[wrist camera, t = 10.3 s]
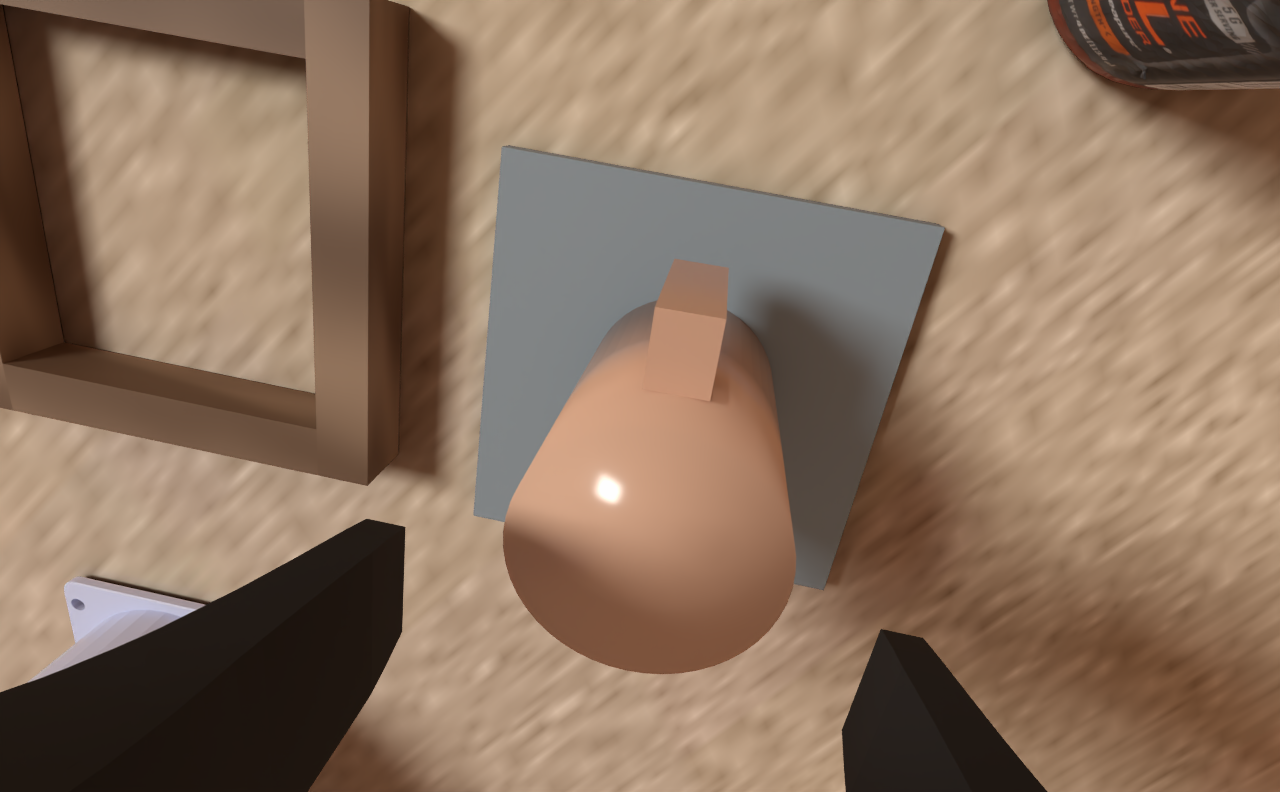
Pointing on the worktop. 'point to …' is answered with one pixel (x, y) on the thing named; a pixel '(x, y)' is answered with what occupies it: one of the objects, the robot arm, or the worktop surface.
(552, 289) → the mat
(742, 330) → the peach capsule with nub
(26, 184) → the frame
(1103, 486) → the worktop surface
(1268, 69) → the supplement bottle
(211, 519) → the worktop surface
